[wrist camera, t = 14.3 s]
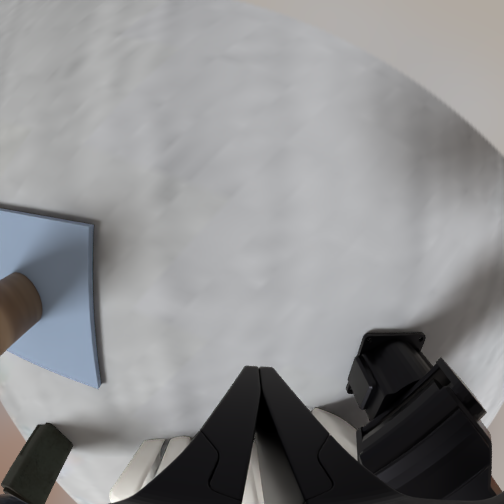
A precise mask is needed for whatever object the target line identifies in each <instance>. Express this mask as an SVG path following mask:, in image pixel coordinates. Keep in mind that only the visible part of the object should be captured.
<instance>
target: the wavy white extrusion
mask: <svg viewBox="0 0 504 504" xmlns="http://www.w3.org/2000/svg"><path fill="white" fill-rule="evenodd" d="M311 413H312V414H313V415H314V416H315V418H316V419H317V420H318V421H319V422H320V423H321V424H322V425H323V427H324V428H325V429H326V430H327V431H328V432H329V433H330V435H332V436H333V437H334V439H335V440H336V441H337V442H338V443H339V444H340V445H341V446H342V447H343V448H344V449H345V450H346V451H347V452H348V453H349V454H350V455H351V456H352V457H354V458H355V459H356V460H357V441H356V431H357V430H356V429H355V428H354V427H352V426H351V425H350V424H349V423H347V422H346V421H344V420H343V419H342V418H340V417H338V416H336V415H334V414H332V413H330V412H327V411H324V410H321V409H318V408H314V410H313V411H312V412H311ZM164 441H165V439H152V440H145V441H144V442H143V443H142V445H141V446H140V448H139V449H138V451H137V452H136V454H135V455H134V457H133V458H132V460H131V461H130V463H129V464H128V466H127V467H126V468H125V470H124V471H123V473H122V474H121V476H120V477H119V479H118V480H117V482H116V483H115V485H114V486H113V488H112V489H111V491H110V494H109V497H110V501H111V503H114V502H117V501H121V500H124V499H126V498H129V497H130V496H132V495H134V494H135V493H137V492H138V491H140V490H141V489H142V488H143V487H144V486H146V485H147V484H148V483H149V482H150V481H151V480H153V479H154V478H155V477H156V476H157V475H158V474H159V473H160V472H162V471H163V470H164V469H165V468H166V467H167V466H168V465H169V464H170V463H172V462H173V461H174V460H175V459H176V458H177V457H178V456H179V455H180V454H181V452H182V451H183V450H184V449H185V448H186V447H187V446H188V444H189V443H190V442H191V441H192V440H191V439H190V437H185V436H181V437H175V438H172V439H171V440H170V441H169V444H168V446H167V449H166V451H165V454H164V456H163V459H162V461H161V448H162V445H163V443H164ZM242 504H264V499H263V492H262V485H261V477H260V470H259V462H258V454H257V447H256V443H255V442H254V441H253V446H252V452H251V457H250V463H249V469H248V474H247V479H246V485H245V490H244V495H243V500H242Z"/></svg>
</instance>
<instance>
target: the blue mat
mask: <svg viewBox="0 0 504 504" xmlns="http://www.w3.org/2000/svg"><path fill="white" fill-rule="evenodd" d="M93 230H94V225H93V224H87V223H82V222H76V221H70V220H65V219H59V218H53V217H48V216H42V215H36V214H31V213H25V212H20V211H14V210H8V209H3V208H0V280H1V279H3V278H5V277H6V276H8V275H10V274H12V273H14V272H18V273H21V274H23V275H25V276H26V277H27V278H28V279H29V280H30V281H31V282H32V283H33V285H34V286H35V288H36V289H37V291H38V293H39V296H40V299H41V302H42V316H41V319H40V320H39V321H38V322H37V323H36V324H35V325H34V326H33V327H31V328H30V329H29V330H28V331H27V332H26V333H25V334H23V335H22V336H21V337H20V338H19V339H18V340H17V341H16V342H15V343H13V344H12V345H11V346H10V347H9V348H8V349H7V351H9V352H11V353H12V354H15V355H17V356H19V357H21V358H23V359H25V360H27V361H29V362H31V363H33V364H36V365H38V366H40V367H42V368H45V369H47V370H49V371H52V372H54V373H57V374H59V375H62V376H64V377H67V378H69V379H72V380H75V381H77V382H80V383H83V384H86V385H88V386H91V387H94V388H97V389H99V387H100V385H101V379H100V371H99V364H98V355H97V346H96V335H95V323H94V306H93Z"/></svg>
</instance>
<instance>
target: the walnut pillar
mask: <svg viewBox="0 0 504 504" xmlns="http://www.w3.org/2000/svg"><path fill="white" fill-rule="evenodd" d="M41 316H42V302H41V299H40V296H39V293H38V291H37V289H36V288H35V286H34V285H33V283H32V282H31V281H30V280H29V279H28V278H27V277H26V276H25V275H23V274H21V273H18V272H14V273H12V274H10V275H8V276H6V277H5V278H3V279H1V280H0V356H1V355H2V354H3V353H4V352H5V351H6V350H7V349H8V348H9V347H10V346H11V345H12V344H13V343H15V342H16V341H17V340H18V339H19V338H20V337H21V336H22V335H23V334H25V333H26V332H27V331H28V330H29V329H30V328H31V327H33V326H34V325H35V324H36V323H37V322H38V321H39V320H40V319H41Z"/></svg>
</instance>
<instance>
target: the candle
mask: <svg viewBox="0 0 504 504" xmlns="http://www.w3.org/2000/svg"><path fill="white" fill-rule="evenodd" d="M72 447H73V445H72V443H71V442H70V441H69V440H68V439H67V438H66V437H65V436H64V435H63V434H62V433H61V432H59V431H58V430H57V429H56V428H55V427H54V426H53V425H51V424H49V423H46V424H45V425H41V426H39V425H37V427H36V428H35V430H34V431H33V433H32V434H31V436H30V437H29V439H28V440H27V442H26V444H25V445H24V447H23V448H22V450H21V451H20V453H19V455H18V456H17V458H16V460H15V461H14V463H13V465H12V466H11V468H10V470H9V471H8V473H7V475H6V476H5V478H4V480H3V481H2V483H1V486H2V487H3V488H4V490H3V491H4V493H5V494H10V495H12V496H15V497H16V498H18V499H20V500H22V501H24V502H25V503H27V504H45V502H46V500H47V498H48V496H49V494H50V492H51V489H52V487H53V485H54V483H55V481H56V479H57V477H58V475H59V473H60V471H61V469H62V467H63V465H64V463H65V461H66V459H67V457H68V455H69V453H70V451H71V449H72Z"/></svg>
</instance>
